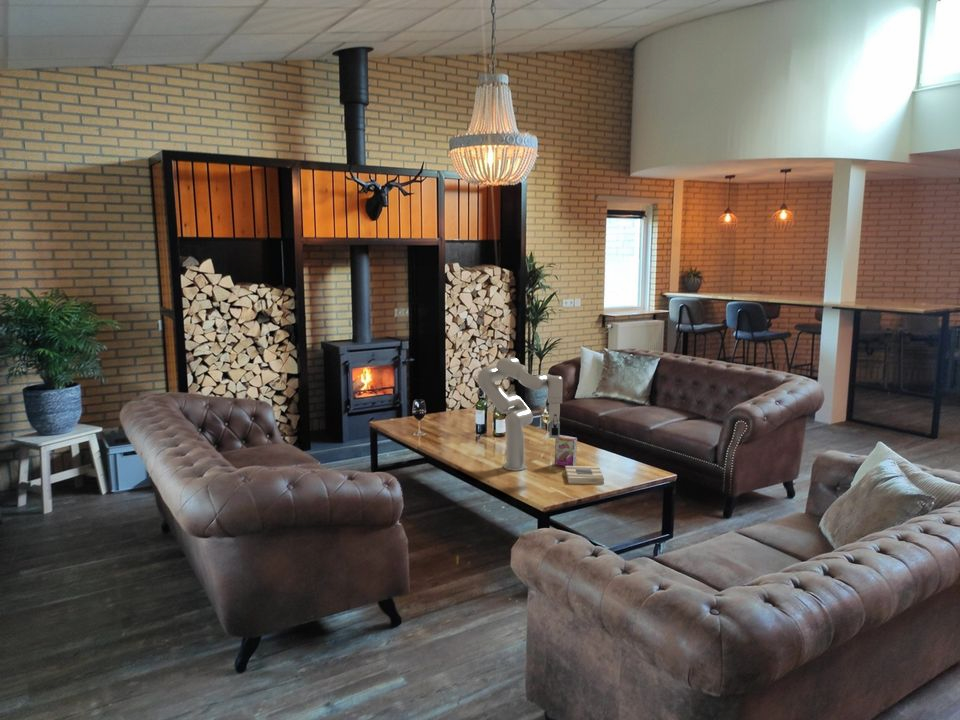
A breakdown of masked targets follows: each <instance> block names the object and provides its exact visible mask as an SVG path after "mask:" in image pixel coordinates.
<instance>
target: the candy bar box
mask: <svg viewBox="0 0 960 720" xmlns="http://www.w3.org/2000/svg"><path fill="white" fill-rule="evenodd" d="M577 447H578V438H577V437H573V436H569V435H562V434H560V438H555V444H554V449H555V450H554V466H559V467H565V466H577V450H578V448H577Z"/></svg>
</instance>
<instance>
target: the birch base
mask: <svg viewBox="0 0 960 720" xmlns="http://www.w3.org/2000/svg"><path fill="white" fill-rule="evenodd" d="M564 472H565V476H566V479H567V483H568V484H576V485H577V484H579V485H580V484H581V485H582V484H583V485H584V484H585V485H586V484H587V485H595V484H596V485H604V484H605V478H604V475H603V472H602V471H601V469H600V466H597V465H595V466H591V465H576V466H565V468H564Z"/></svg>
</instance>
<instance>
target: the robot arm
mask: <svg viewBox="0 0 960 720" xmlns="http://www.w3.org/2000/svg"><path fill="white" fill-rule="evenodd" d="M527 371H528V370H527V366H525V365H524V364H521V362H520V360H519V359H518V358H516V357H514V356H510V357H504V358H500V359H499V360H498V361H497V363H496V365H493V366H489V367H484V368H483V369H481V370H480V371H478V374H477V383H478V386H479V388H480V389H481V391H482V392H483V393H484V394H485V395H486V396H487V398H488V399H489V400H490V402H491V403H492V404H493V405H494V407H495V408H496V409H497V411H499V413H501V414H506V416H505V421H504V423H505V428H506V463H504V464H503V469H505V470H506V471H514V472H515V471H516V472H518V471H524V470H526V469H527V464H526V463H525V461H524V460H525V432H524V430H523V427H526V426H529V425H531V424H532V423H533V420H534V414H533V412H532V410H531V409H530V408H529V407H528V405H527V404H526V403H525V402H524V400H523V399H522V398H521V396H519V395H517V394H516V393H509V394H506V392H504V391H503V390H502V388H501V387H500V386H498V384H496V383H495V382H498V381H499V382H500V381H502V380H505V379H506V378H508V377H510V378H511V379H515V380H517V381H518V382H519V383H520V384H521V385H522V387H523V386H524V387H525V388H528V389H530V390H533V391H540V390H544V389H547V403H548V404H549V407H548V420H549V423H550V422H552V435H558V422H560V415H561V414H560V412H561V404H563V383H564V382H563V381H564V379H563V377H562V376H561V375H553V374H549V373H541V374H537V375H534V374H531V373H528V372H527ZM553 421H554V422H553ZM553 423H554V424H553Z"/></svg>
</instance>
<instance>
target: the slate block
mask: <svg viewBox="0 0 960 720" xmlns="http://www.w3.org/2000/svg"><path fill="white" fill-rule="evenodd" d="M553 422H554V421H553ZM553 424H554V423H553ZM560 427H561V423H560V421H559V422H558V435H552V422H550V421H549V432H548V433H549V434H548V435H549V438H550V439H556V438H560V435H561V434H560V431H561V429H560Z"/></svg>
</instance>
